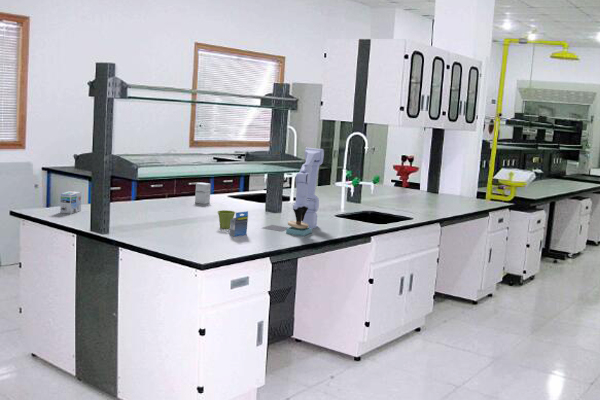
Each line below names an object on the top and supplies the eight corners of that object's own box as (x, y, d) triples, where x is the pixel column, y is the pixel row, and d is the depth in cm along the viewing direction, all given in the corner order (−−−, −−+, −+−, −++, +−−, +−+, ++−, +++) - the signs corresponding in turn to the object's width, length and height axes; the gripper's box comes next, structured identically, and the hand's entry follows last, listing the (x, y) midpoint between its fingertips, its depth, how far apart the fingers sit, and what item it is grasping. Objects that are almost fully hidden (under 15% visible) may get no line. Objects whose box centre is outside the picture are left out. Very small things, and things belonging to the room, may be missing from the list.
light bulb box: (71, 214, 353) (71, 194, 352) (59, 212, 354) (60, 193, 353) (81, 210, 364) (81, 191, 362) (70, 209, 365) (70, 190, 363)
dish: (294, 230, 349) (295, 225, 349) (311, 233, 345) (311, 228, 345) (286, 233, 340) (286, 228, 340) (303, 236, 336) (303, 231, 336)
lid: (293, 221, 350) (295, 210, 348) (311, 226, 345) (313, 215, 344) (284, 224, 340) (285, 213, 339) (302, 229, 335) (304, 218, 334)
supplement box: (194, 202, 414) (195, 183, 412) (199, 201, 421) (200, 182, 419) (205, 204, 412) (206, 184, 410) (210, 202, 419) (211, 183, 417)
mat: (272, 225, 360) (272, 224, 360) (291, 228, 355) (291, 228, 355) (261, 228, 349) (261, 228, 349) (281, 232, 344) (281, 231, 344)
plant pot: (222, 230, 338) (223, 213, 337) (213, 226, 346) (214, 210, 344) (237, 229, 344) (238, 213, 342) (228, 225, 351) (229, 209, 350)
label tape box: (241, 233, 335) (242, 209, 333) (247, 234, 332) (248, 211, 330) (229, 235, 328) (230, 211, 326) (234, 236, 325) (236, 212, 323)
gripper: (300, 193, 348) (299, 218, 350) (288, 196, 335) (286, 221, 337) (312, 194, 345) (310, 219, 347) (300, 197, 332) (298, 223, 334)
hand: (299, 221), depth 342 cm, fingers closed on lid, 3 cm apart
